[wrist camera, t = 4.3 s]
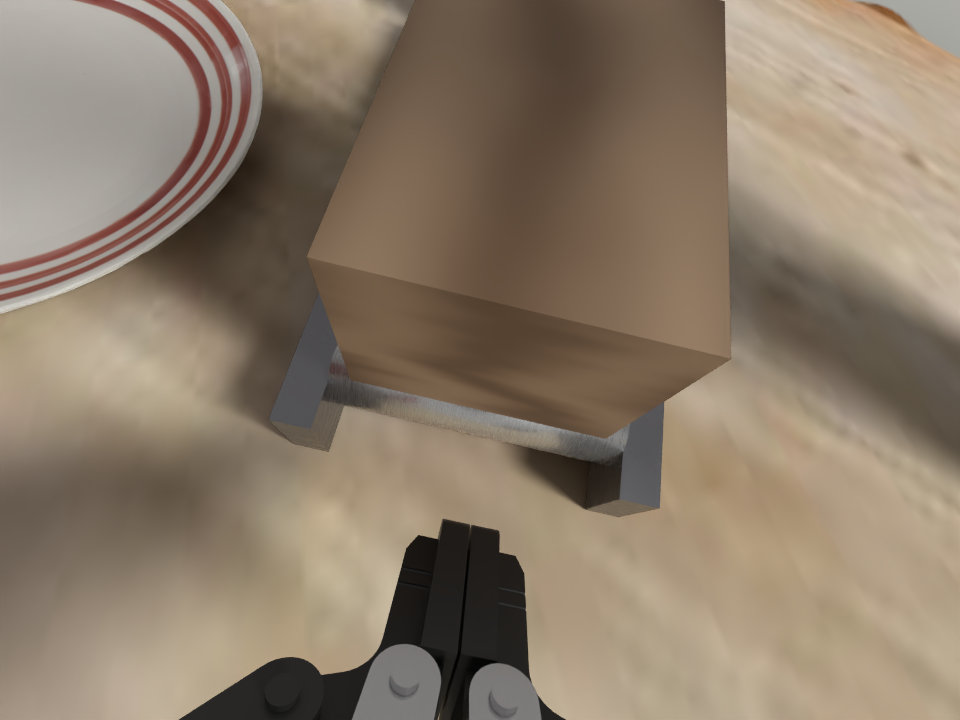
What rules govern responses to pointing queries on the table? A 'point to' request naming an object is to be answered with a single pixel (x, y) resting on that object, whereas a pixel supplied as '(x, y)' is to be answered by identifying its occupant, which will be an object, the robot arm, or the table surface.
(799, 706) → the table surface
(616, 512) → the roller bed
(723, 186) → the brown cardboard box
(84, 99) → the dinner plate
